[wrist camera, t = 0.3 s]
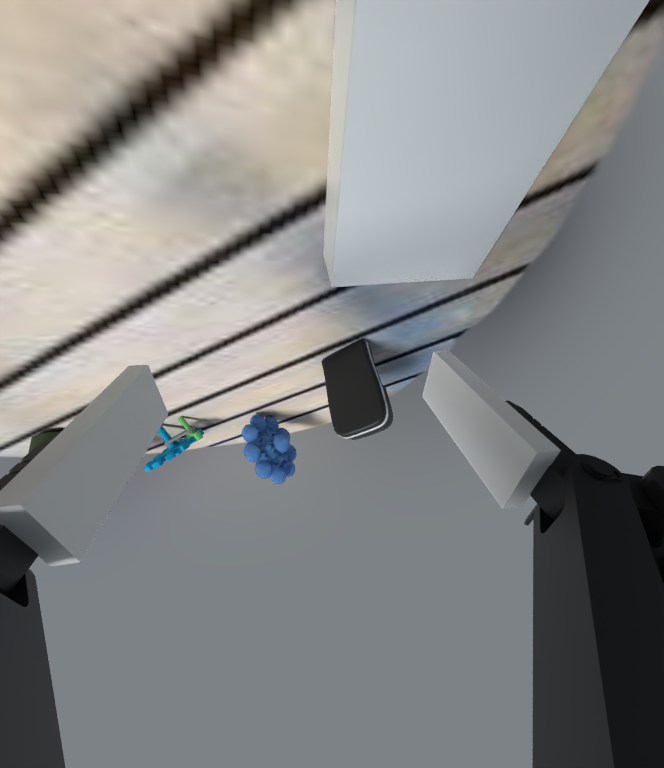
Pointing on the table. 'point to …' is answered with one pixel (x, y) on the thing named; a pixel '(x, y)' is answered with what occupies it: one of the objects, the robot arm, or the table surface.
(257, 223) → the table surface
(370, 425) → the battery charger
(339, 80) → the stand
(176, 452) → the blue green lumpy piece
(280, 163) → the table surface
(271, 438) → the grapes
